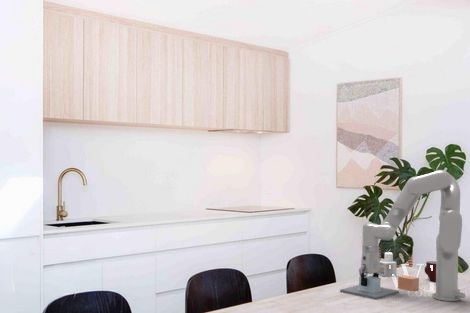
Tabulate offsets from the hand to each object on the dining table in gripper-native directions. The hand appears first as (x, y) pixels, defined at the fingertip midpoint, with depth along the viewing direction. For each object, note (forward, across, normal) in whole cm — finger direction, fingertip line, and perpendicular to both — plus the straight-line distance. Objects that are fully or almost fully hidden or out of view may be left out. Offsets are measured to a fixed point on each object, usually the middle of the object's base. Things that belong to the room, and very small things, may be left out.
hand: (369, 284), depth 284 cm
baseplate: (+4, 0, 0) cm, 4 cm away
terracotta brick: (+4, +22, -8) cm, 24 cm away
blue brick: (+2, 0, 0) cm, 2 cm away
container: (+4, +44, +18) cm, 48 cm away
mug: (+4, +50, -6) cm, 51 cm away
